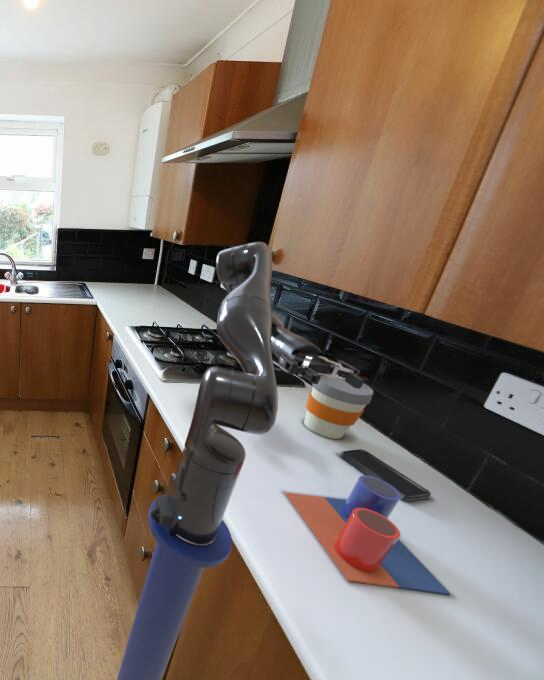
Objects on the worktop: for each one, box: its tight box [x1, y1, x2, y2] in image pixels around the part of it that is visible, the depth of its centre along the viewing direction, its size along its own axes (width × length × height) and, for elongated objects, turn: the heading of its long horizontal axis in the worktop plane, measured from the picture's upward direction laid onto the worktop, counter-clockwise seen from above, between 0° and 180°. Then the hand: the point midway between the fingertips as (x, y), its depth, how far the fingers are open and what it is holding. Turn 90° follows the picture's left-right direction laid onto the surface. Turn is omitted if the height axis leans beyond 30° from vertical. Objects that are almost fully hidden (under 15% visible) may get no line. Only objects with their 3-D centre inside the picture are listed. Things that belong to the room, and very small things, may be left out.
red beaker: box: [334, 508, 401, 572], centre depth 62 cm, size 6×6×8 cm
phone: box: [339, 448, 432, 502], centre depth 84 cm, size 8×1×15 cm
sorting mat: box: [285, 492, 451, 596], centre depth 68 cm, size 16×19×1 cm
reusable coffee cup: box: [303, 372, 374, 440], centre depth 98 cm, size 13×12×15 cm
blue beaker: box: [342, 474, 402, 519], centre depth 70 cm, size 6×6×9 cm
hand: (339, 382), depth 74 cm, fingers open, 8 cm apart
